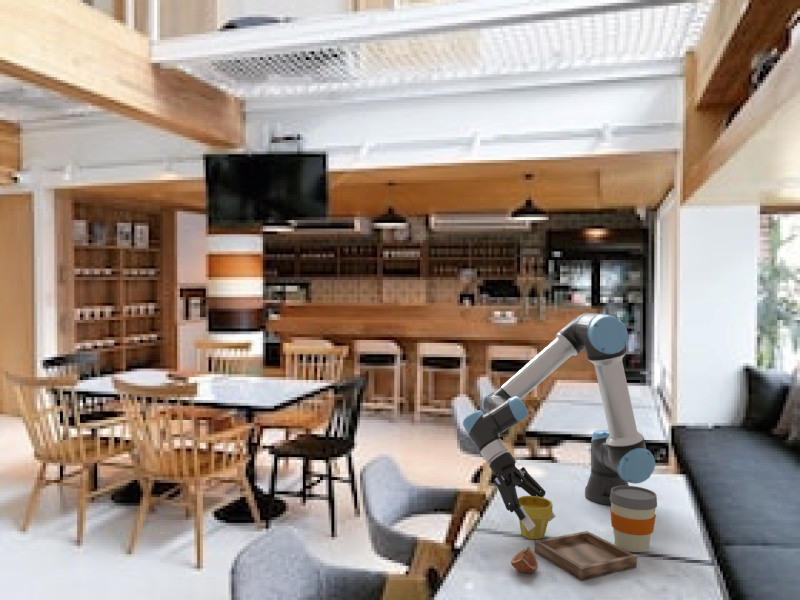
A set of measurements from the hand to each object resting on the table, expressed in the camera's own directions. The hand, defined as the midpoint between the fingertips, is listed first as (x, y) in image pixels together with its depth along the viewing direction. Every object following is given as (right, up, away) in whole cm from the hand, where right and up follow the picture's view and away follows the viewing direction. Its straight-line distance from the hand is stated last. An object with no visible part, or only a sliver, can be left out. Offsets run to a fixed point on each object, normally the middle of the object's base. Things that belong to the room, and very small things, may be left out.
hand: (542, 523), depth 187 cm
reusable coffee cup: (+24, -5, -4) cm, 25 cm away
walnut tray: (+8, -5, -14) cm, 17 cm away
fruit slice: (-9, -5, -21) cm, 24 cm away
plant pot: (-2, -4, +2) cm, 5 cm away
